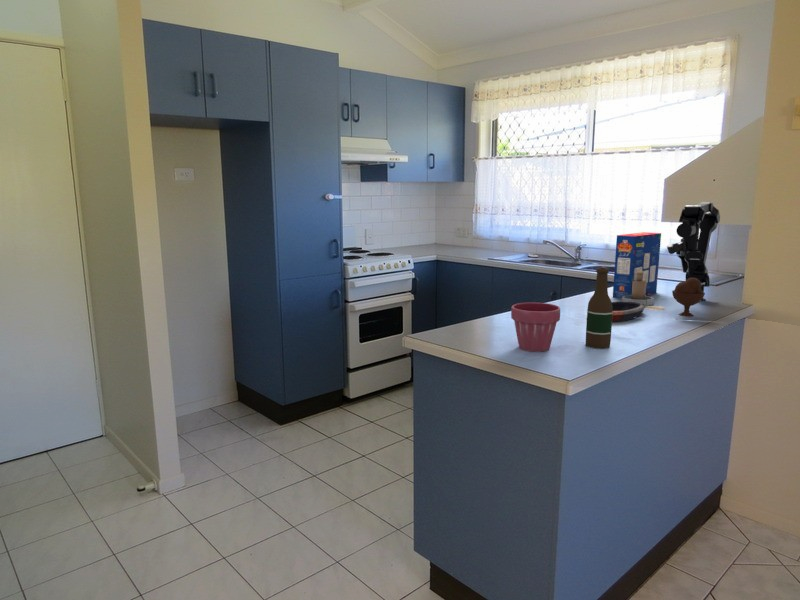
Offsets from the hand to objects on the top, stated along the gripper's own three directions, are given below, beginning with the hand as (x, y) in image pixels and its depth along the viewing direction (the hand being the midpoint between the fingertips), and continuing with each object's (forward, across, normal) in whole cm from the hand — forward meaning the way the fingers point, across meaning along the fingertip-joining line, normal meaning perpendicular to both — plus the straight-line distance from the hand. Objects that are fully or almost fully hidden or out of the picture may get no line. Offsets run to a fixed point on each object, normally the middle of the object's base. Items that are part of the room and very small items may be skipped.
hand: (687, 274), depth 240 cm
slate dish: (+13, +3, -19) cm, 23 cm away
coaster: (+13, +13, -14) cm, 23 cm away
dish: (+14, +32, -31) cm, 47 cm away
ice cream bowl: (+13, +25, -5) cm, 29 cm away
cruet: (+12, +3, -19) cm, 23 cm away
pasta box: (+13, -20, -17) cm, 29 cm away
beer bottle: (+13, +78, -42) cm, 90 cm away
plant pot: (+13, +85, -61) cm, 105 cm away
